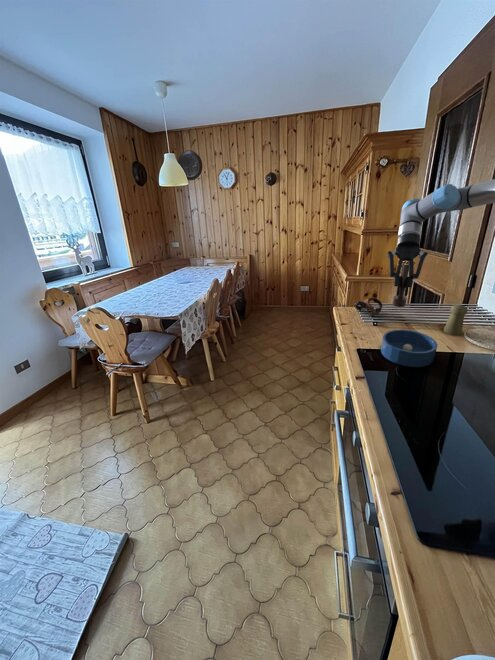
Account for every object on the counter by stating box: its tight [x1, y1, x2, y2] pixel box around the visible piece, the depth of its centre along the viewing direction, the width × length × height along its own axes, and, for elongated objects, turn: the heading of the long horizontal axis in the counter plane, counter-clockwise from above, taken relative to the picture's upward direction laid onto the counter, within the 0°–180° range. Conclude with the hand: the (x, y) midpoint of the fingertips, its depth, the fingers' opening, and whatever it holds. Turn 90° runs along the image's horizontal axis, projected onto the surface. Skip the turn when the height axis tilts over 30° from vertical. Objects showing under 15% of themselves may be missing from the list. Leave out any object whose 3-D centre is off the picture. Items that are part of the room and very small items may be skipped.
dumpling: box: [403, 344, 412, 351], centre depth 99 cm, size 3×3×3 cm
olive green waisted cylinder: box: [443, 304, 468, 336], centre depth 110 cm, size 6×6×11 cm
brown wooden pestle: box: [391, 264, 409, 308], centre depth 103 cm, size 4×4×15 cm
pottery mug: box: [354, 297, 383, 317], centre depth 132 cm, size 12×10×8 cm
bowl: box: [380, 329, 439, 368], centre depth 99 cm, size 17×17×6 cm
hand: (401, 294), depth 101 cm, fingers closed on brown wooden pestle, 2 cm apart
